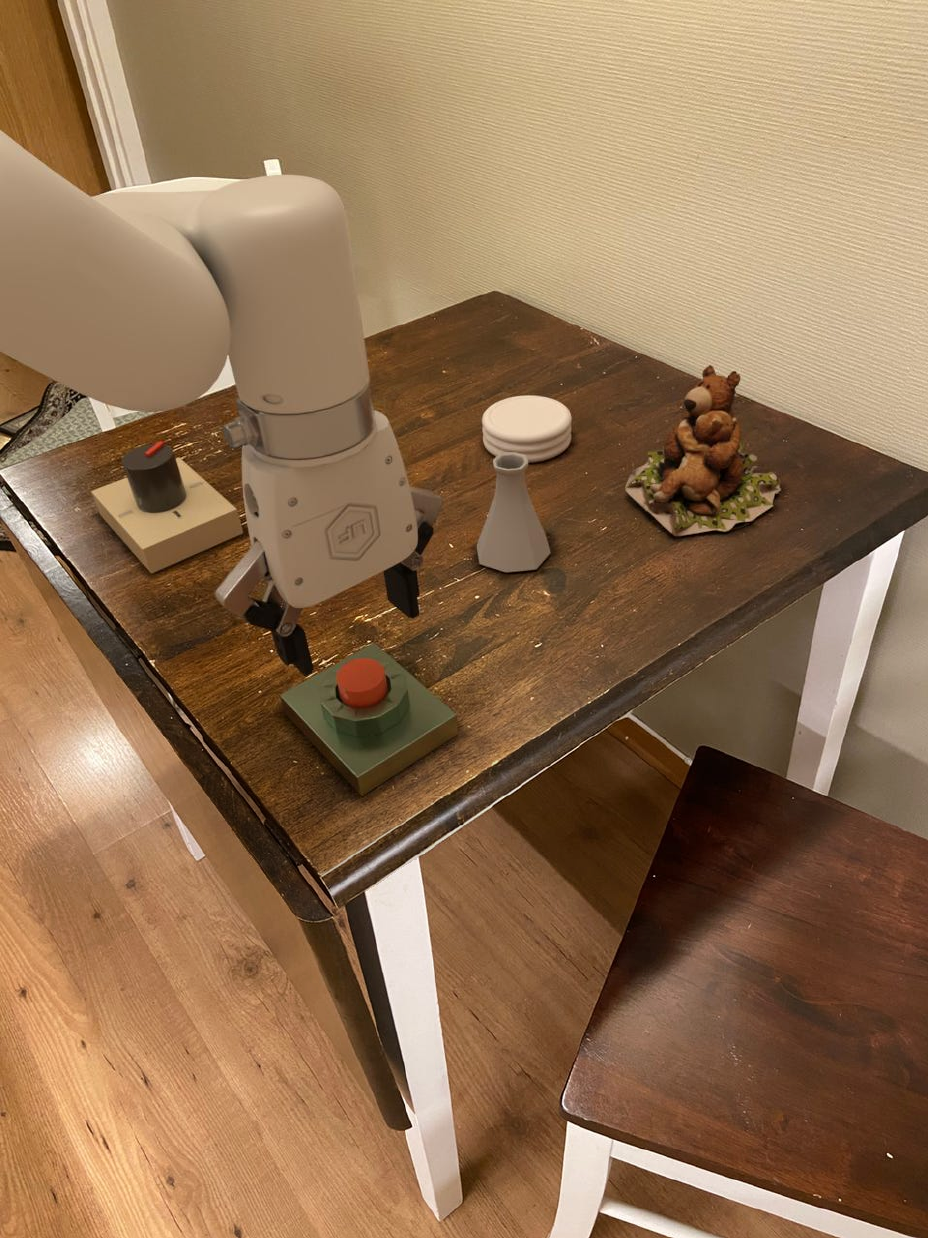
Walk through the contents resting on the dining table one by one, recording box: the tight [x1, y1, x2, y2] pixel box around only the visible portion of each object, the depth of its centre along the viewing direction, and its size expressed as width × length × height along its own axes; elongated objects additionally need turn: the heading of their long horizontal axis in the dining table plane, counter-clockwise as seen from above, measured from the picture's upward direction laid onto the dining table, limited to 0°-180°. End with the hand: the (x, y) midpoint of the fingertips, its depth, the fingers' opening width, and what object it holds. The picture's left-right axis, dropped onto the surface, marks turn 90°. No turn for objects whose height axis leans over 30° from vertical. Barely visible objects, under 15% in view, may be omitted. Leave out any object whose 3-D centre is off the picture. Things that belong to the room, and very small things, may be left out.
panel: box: [90, 457, 244, 574], centre depth 91 cm, size 14×10×3 cm
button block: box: [279, 642, 460, 797], centre depth 67 cm, size 11×9×4 cm
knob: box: [121, 441, 186, 513], centre depth 88 cm, size 5×5×5 cm
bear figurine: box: [625, 364, 782, 537], centre depth 86 cm, size 14×15×12 cm
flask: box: [476, 452, 551, 573], centre depth 81 cm, size 7×7×10 cm
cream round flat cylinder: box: [481, 395, 573, 464], centre depth 99 cm, size 10×10×4 cm
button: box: [337, 658, 388, 708], centre depth 66 cm, size 4×4×2 cm
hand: (352, 635), depth 63 cm, fingers open, 8 cm apart
